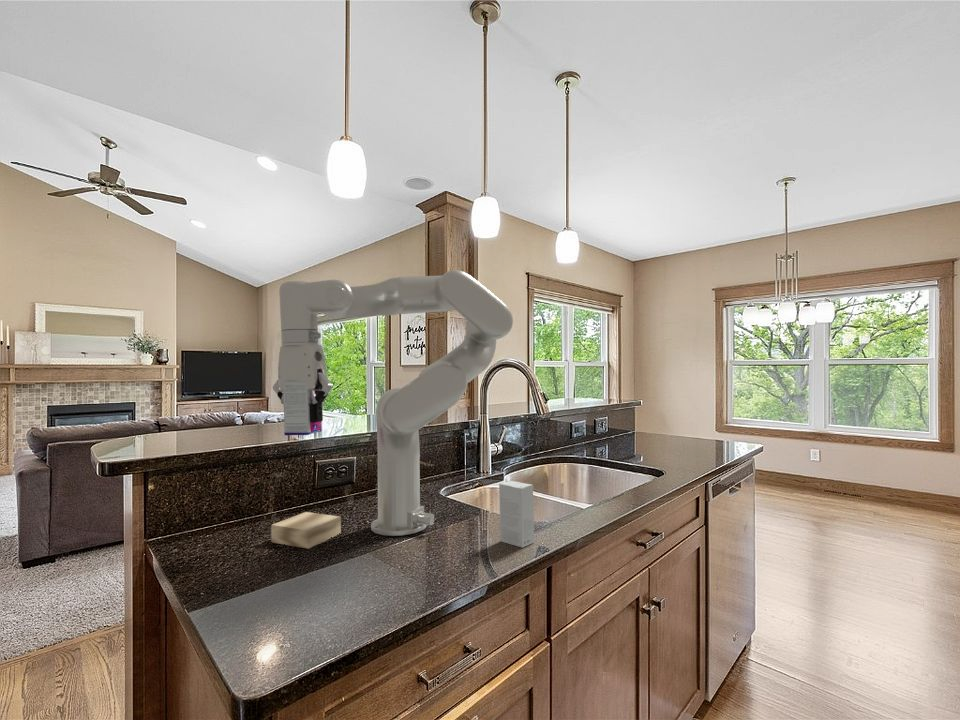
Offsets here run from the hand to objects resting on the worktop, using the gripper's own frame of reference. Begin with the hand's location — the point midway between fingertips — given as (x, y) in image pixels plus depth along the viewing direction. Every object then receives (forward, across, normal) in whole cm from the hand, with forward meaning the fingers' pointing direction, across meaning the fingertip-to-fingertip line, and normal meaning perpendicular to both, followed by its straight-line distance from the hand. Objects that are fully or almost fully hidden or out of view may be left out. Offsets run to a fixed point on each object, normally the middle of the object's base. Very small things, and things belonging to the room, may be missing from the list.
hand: (303, 421), depth 106 cm
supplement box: (+3, 0, 0) cm, 3 cm away
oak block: (+25, 0, 0) cm, 25 cm away
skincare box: (+27, -43, -14) cm, 52 cm away
